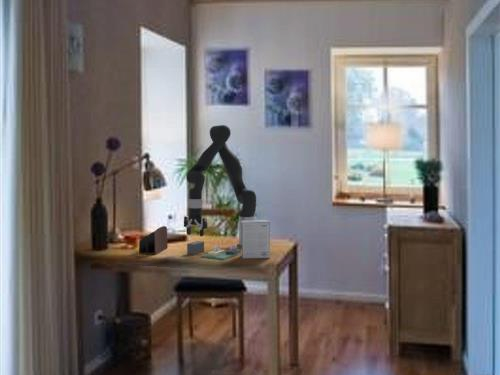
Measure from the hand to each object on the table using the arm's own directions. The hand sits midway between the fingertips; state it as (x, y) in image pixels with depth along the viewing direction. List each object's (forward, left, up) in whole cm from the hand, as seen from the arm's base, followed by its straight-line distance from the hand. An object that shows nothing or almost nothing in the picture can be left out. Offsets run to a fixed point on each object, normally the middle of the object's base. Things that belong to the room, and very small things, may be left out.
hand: (195, 235), depth 372 cm
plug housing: (0, 0, -10) cm, 10 cm away
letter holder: (+8, -23, -10) cm, 27 cm away
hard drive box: (-8, +34, -10) cm, 37 cm away
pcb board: (-2, +16, -10) cm, 19 cm away
